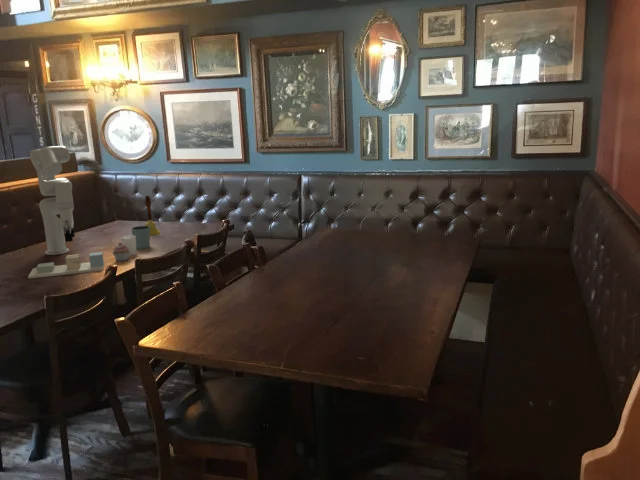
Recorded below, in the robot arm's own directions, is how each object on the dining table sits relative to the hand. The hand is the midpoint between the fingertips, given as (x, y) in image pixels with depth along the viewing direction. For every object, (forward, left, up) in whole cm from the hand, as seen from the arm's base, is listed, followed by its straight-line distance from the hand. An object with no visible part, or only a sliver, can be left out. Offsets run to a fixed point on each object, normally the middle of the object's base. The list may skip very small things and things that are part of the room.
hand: (70, 239), depth 270 cm
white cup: (-21, +27, -16) cm, 38 cm away
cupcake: (-9, +23, -16) cm, 30 cm away
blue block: (0, +11, -15) cm, 19 cm away
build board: (0, -3, -16) cm, 16 cm away
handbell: (-72, +40, -16) cm, 84 cm away
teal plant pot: (-35, +34, -16) cm, 52 cm away
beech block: (0, 0, -15) cm, 15 cm away
